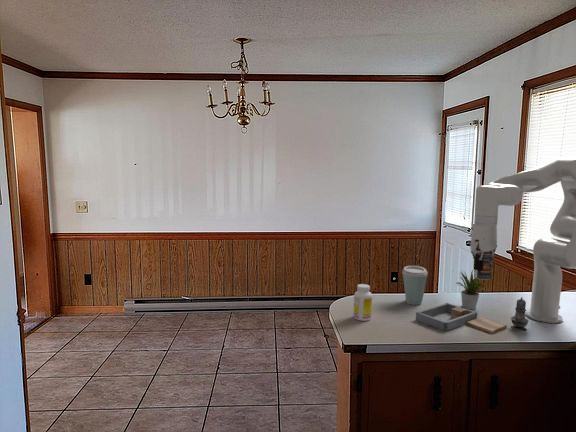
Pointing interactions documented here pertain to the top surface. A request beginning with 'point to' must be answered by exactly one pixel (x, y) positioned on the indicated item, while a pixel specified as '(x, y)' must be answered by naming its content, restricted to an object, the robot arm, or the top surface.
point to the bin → (451, 324)
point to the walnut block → (457, 312)
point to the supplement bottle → (362, 303)
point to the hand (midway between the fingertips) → (483, 268)
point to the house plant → (470, 291)
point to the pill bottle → (485, 267)
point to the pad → (486, 325)
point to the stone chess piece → (519, 316)
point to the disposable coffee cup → (414, 283)
